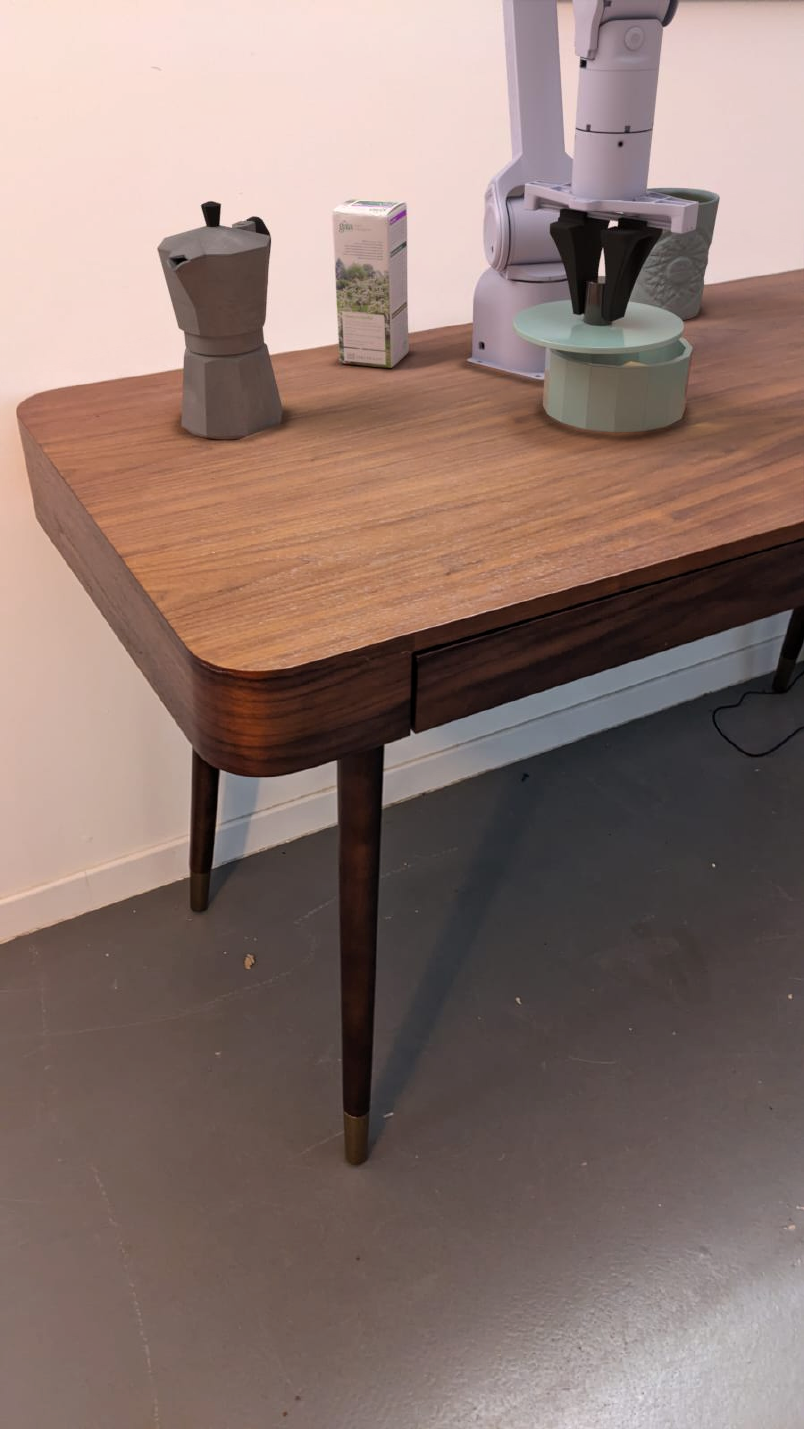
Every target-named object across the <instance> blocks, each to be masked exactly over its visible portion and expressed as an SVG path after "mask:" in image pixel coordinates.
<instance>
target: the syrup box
mask: <svg viewBox="0 0 804 1429" xmlns="http://www.w3.org/2000/svg"><path fill="white" fill-rule="evenodd" d="M331 220H332V240H333V256H334V257H333V260H334V261H333V262H334V279H335V280H334V281H335V298H336V299H335V300H336V301H335V302H336V303H335V304H336V317H337V318H336V319H337V320H336V322H337V338H338V360H339V363H340V364H345V365H346V364H347V365H356V366H364V367H365V366H366V367H373V368H385V369H391V368H393V367H395V366H396V365H398V363H399V362H400V361H401V360H402V359H403V358H405V356H407V355H408V354H409V351H410V339H409V337H410V336H409V309H408V308H409V303H408V294H409V293H408V206H407V202H406V201H393V200H392V201H390V200H389V201H388V200H373V199H372V200H370V199H349V200H346V201H343V202H342V203H340V204H338V206H336V207H335V208H334V209H332V210H331Z"/></svg>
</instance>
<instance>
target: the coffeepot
mask: <svg viewBox="0 0 804 1429" xmlns="http://www.w3.org/2000/svg"><path fill="white" fill-rule="evenodd" d="M200 209H201V212H202V215H203V218H204V222H205V225H204V226H201V227H198V228H194V229H190V230H187V231H183V232H179V233H177V234H173V235H170V236H167V237H164V238H163V239H162V241H161V242H160V244H159V245H158V246H157V248H156V249H157V253H158V256H159V260H160V264H161V268H162V271H163V275H164V279H165V283H166V285H167V290H168V294H169V298H170V301H171V305H172V308H173V312H174V316H175V320H176V323H177V327H178V329H180V330H181V331H183V336H184V343H185V344H184V346H185V349H184V354H183V366H182V367H183V369H182V370H183V371H182V372H183V373H182V397H181V423H180V424H181V427H182V428H183V429H184V430H185V431H187V432H189V433H190V434H192V435H194V436H196V437H201V438H205V439H211V440H240V439H241V440H242V439H243V438H244V439H245V438H247V437H249V436H252V435H254V434H257V433H259V432H262V431H265V430H267V429H271V428H273V427H275V426H278V425H281V423H282V416H283V412H284V409H283V404H282V400H281V396H280V392H279V389H278V384H277V380H276V375H275V372H274V366H273V364H272V360H271V356H270V352H269V347H268V344H267V343H266V342H265V336H264V326H265V324H266V320H267V319H266V318H267V306H268V305H267V303H268V288H269V271H270V270H269V267H270V258H271V257H270V256H271V247H272V236H271V232H270V231H269V229H268V226H266V224H265V222H264V220H263V219H262V218H261V217H259V216H255V215H253V216H251V217H248V218H247V219H245V220H240V221H239V220H238V221H237V222H235V223H233V224H231V226H226V225H221V212H222V203H221V202H216V201H213V200H208V201H206V202H203V203H201V204H200Z"/></svg>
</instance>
